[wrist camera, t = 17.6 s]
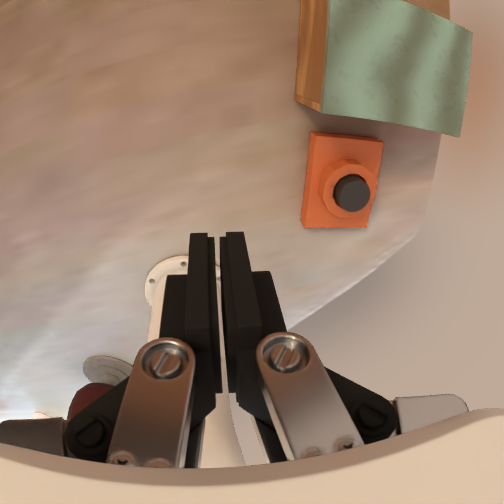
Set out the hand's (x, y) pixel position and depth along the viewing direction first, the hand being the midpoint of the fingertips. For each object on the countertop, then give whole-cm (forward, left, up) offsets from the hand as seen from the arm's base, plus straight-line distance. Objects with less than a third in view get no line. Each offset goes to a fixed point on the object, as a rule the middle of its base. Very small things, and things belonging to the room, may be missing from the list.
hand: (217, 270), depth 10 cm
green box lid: (+9, -17, -18) cm, 27 cm away
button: (-7, -16, -24) cm, 29 cm away
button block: (-7, -16, -27) cm, 32 cm away
